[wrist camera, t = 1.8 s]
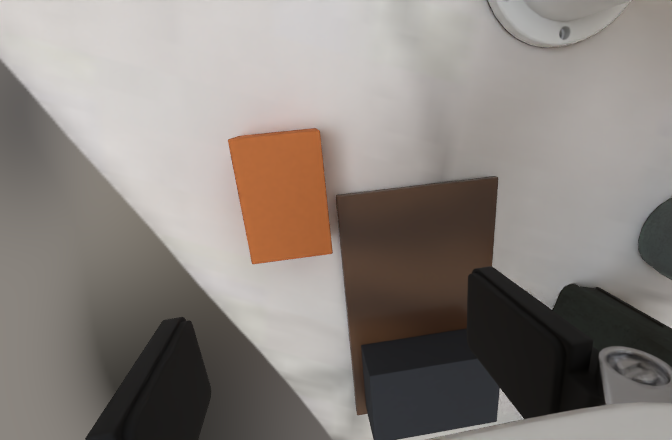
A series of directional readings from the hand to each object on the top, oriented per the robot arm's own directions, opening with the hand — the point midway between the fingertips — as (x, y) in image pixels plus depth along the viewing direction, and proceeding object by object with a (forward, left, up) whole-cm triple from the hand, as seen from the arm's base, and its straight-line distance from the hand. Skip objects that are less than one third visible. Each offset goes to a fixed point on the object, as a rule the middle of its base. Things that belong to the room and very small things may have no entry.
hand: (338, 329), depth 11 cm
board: (+12, +9, -17) cm, 22 cm away
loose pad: (-1, -2, -17) cm, 17 cm away
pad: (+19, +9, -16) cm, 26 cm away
